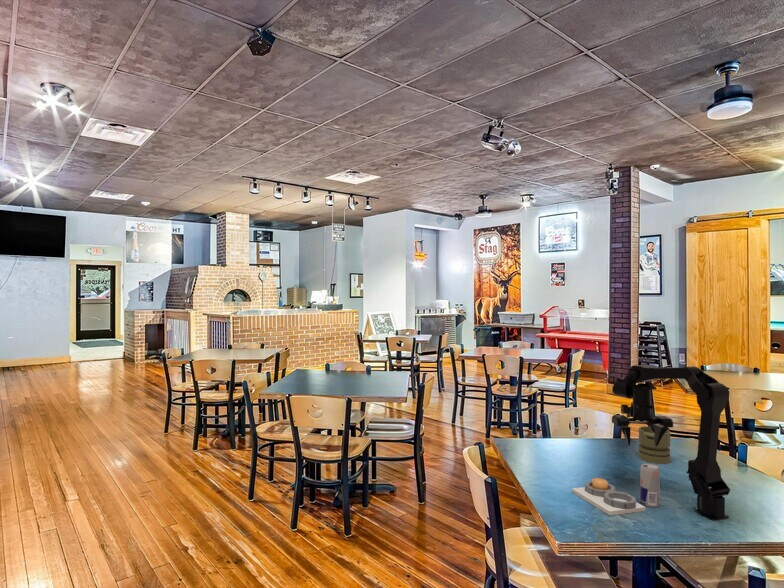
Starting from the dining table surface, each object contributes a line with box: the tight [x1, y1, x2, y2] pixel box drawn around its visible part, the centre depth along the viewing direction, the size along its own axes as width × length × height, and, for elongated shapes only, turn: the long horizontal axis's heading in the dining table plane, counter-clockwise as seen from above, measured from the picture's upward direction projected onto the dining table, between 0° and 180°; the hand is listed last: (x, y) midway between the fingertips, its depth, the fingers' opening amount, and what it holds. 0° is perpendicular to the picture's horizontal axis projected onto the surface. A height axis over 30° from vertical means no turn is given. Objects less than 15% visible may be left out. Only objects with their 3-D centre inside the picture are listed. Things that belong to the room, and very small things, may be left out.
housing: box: [571, 477, 646, 516], centre depth 152 cm, size 18×13×5 cm
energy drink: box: [639, 462, 661, 508], centre depth 150 cm, size 5×5×12 cm
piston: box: [638, 425, 671, 465], centre depth 194 cm, size 11×12×11 cm
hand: (642, 445), depth 166 cm, fingers open, 9 cm apart
